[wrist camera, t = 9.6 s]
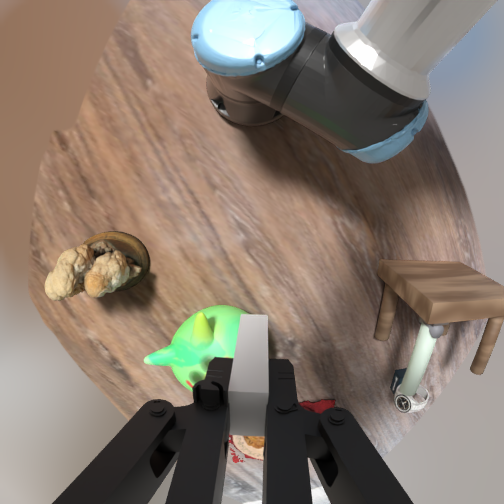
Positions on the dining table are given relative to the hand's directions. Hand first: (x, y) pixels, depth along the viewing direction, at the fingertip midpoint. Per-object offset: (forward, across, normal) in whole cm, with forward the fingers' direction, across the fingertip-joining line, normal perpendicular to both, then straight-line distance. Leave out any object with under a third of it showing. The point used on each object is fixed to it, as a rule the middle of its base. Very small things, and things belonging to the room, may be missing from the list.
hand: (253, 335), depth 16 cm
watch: (+35, +34, -33) cm, 59 cm away
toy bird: (+35, -7, -20) cm, 41 cm away
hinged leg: (+19, +24, -15) cm, 34 cm away
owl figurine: (+35, -29, -7) cm, 46 cm away
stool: (+34, +32, -12) cm, 48 cm away
